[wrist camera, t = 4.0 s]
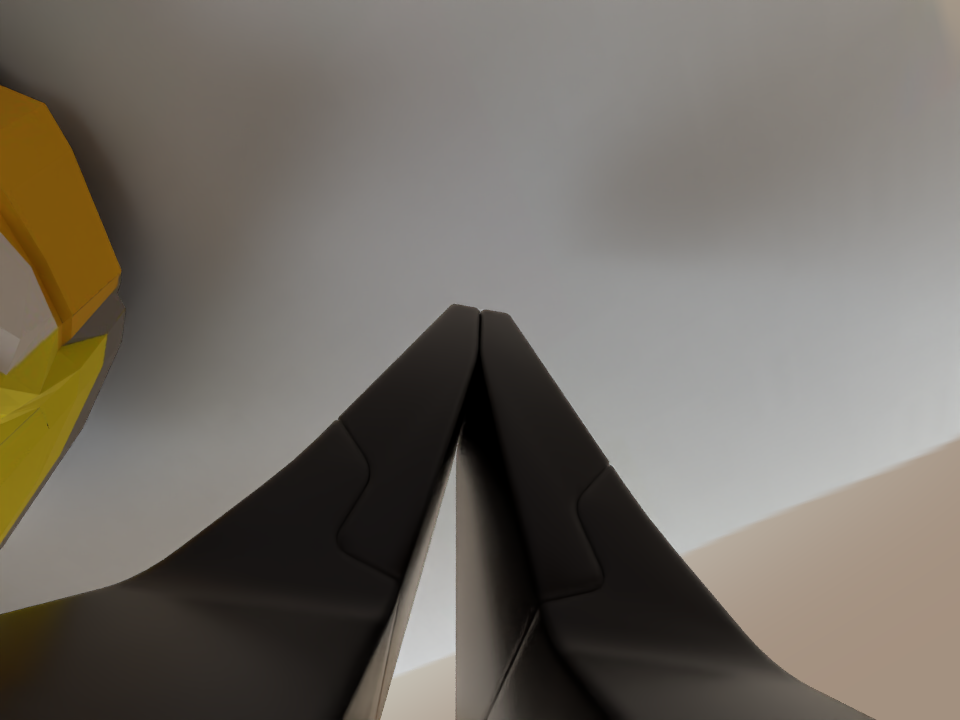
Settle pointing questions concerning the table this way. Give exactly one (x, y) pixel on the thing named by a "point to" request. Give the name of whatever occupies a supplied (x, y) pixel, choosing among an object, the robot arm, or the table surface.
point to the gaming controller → (47, 302)
